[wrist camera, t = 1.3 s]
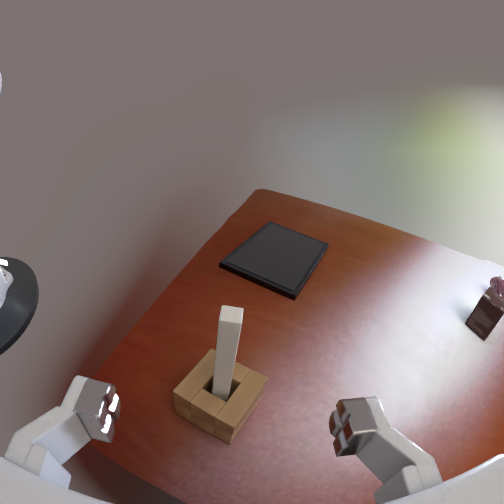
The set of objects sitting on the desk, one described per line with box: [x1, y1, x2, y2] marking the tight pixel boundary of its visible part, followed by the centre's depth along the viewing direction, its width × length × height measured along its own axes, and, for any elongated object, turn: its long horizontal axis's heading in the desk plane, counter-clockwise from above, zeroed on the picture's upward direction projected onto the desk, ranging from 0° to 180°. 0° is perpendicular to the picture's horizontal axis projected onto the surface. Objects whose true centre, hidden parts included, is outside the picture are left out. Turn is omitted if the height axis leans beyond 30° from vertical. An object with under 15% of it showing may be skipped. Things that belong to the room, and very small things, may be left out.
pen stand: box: [173, 349, 268, 445], centre depth 28 cm, size 7×7×5 cm
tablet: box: [219, 222, 329, 300], centre depth 56 cm, size 20×14×1 cm
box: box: [465, 287, 504, 340], centre depth 43 cm, size 6×6×7 cm
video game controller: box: [490, 276, 504, 299], centre depth 52 cm, size 10×5×7 cm
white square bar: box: [212, 305, 243, 402], centre depth 25 cm, size 2×2×15 cm
